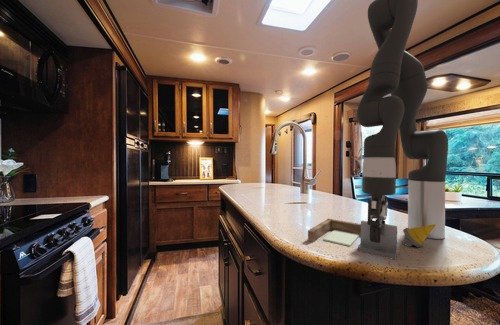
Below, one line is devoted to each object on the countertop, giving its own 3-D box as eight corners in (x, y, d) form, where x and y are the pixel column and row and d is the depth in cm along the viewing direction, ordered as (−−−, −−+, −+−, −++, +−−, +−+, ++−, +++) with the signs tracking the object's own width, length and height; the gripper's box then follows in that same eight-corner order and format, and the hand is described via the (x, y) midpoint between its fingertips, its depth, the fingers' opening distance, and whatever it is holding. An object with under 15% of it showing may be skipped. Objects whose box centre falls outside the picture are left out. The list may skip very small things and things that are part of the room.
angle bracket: (396, 253, 54) (397, 225, 54) (395, 259, 51) (395, 230, 51) (361, 245, 59) (361, 220, 59) (358, 251, 56) (358, 223, 56)
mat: (334, 231, 72) (334, 229, 72) (359, 235, 67) (359, 234, 67) (322, 240, 63) (322, 238, 63) (350, 246, 59) (350, 244, 59)
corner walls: (328, 227, 76) (328, 218, 76) (377, 236, 67) (377, 226, 67) (307, 240, 62) (308, 230, 62) (366, 255, 53) (367, 243, 53)
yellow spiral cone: (406, 241, 64) (439, 223, 59) (412, 256, 59) (449, 237, 54) (392, 230, 64) (424, 212, 59) (397, 244, 59) (432, 225, 54)
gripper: (393, 177, 48) (392, 249, 48) (398, 175, 60) (397, 233, 60) (356, 175, 53) (355, 241, 53) (367, 173, 64) (366, 228, 64)
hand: (377, 237), depth 56 cm, fingers open, 8 cm apart
